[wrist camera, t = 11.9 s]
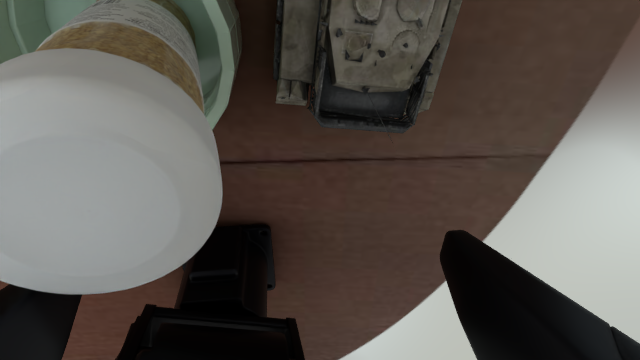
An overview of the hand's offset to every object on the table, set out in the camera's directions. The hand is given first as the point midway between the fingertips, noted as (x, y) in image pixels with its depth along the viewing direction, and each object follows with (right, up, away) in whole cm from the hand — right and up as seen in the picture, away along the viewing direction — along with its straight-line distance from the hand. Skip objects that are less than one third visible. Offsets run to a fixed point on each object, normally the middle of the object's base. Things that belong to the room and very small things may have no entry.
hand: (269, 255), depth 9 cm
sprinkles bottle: (-7, +9, +8) cm, 14 cm away
